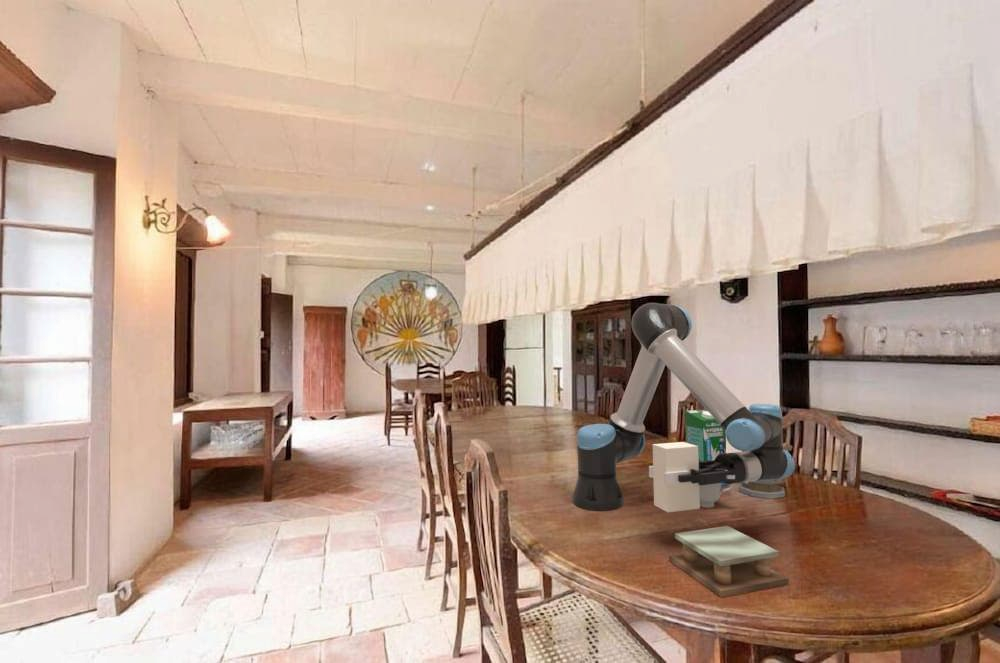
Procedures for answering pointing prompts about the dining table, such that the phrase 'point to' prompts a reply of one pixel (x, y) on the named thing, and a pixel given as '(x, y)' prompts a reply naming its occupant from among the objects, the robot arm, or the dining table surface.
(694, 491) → the cream rectangular block
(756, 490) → the tankard
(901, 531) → the dining table surface
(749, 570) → the peg shelf
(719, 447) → the milk carton
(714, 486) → the teacup
